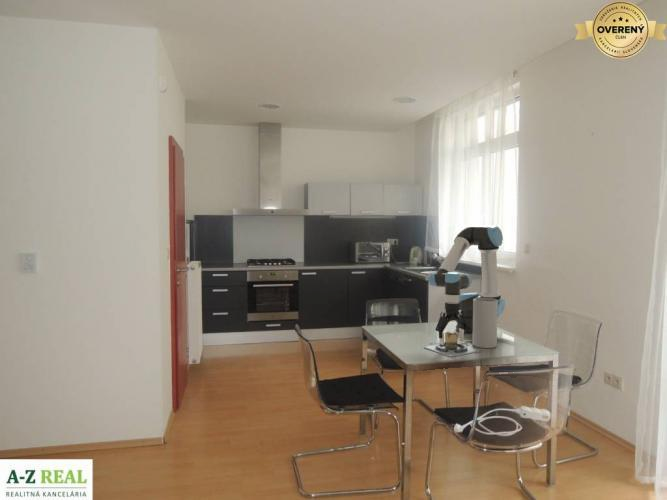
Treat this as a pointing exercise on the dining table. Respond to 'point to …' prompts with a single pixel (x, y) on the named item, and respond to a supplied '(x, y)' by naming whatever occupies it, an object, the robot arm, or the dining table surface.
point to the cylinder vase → (485, 322)
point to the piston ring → (461, 350)
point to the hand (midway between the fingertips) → (451, 342)
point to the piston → (451, 340)
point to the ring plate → (451, 351)
